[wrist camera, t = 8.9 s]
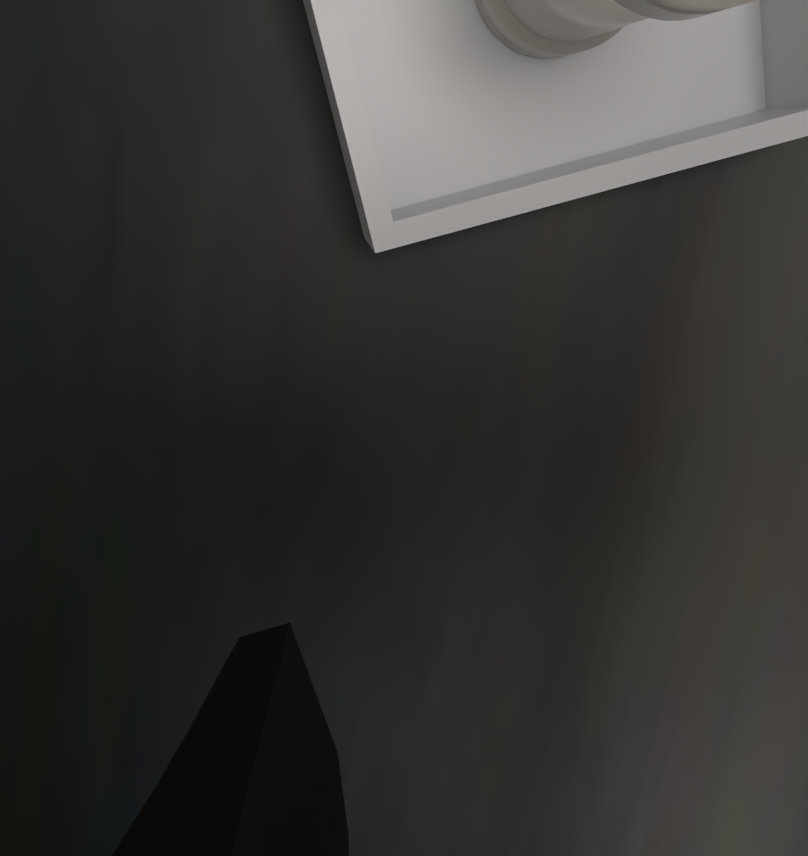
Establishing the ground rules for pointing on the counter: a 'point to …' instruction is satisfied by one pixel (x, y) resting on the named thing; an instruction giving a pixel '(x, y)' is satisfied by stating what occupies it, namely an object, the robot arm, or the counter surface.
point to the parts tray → (542, 107)
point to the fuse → (580, 21)
